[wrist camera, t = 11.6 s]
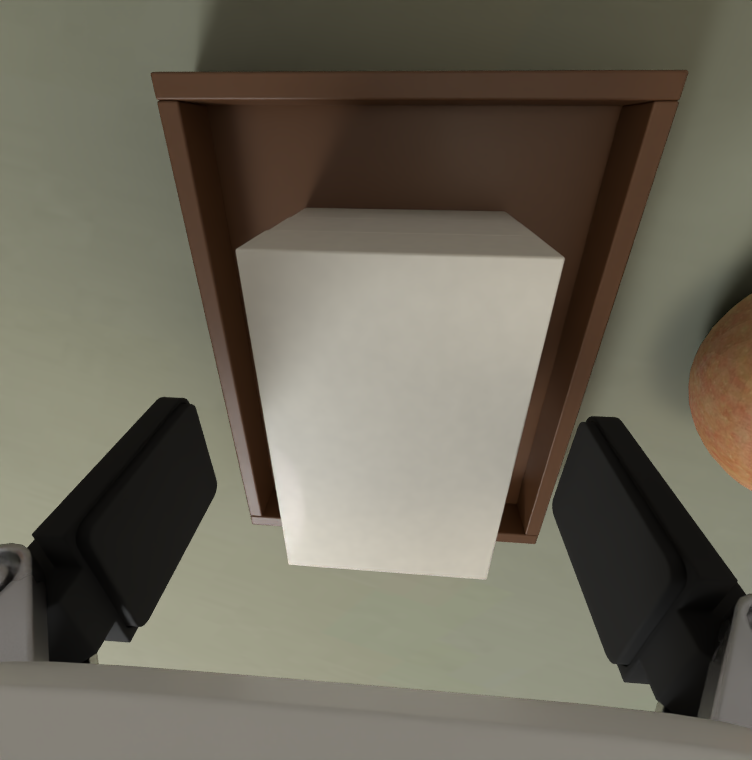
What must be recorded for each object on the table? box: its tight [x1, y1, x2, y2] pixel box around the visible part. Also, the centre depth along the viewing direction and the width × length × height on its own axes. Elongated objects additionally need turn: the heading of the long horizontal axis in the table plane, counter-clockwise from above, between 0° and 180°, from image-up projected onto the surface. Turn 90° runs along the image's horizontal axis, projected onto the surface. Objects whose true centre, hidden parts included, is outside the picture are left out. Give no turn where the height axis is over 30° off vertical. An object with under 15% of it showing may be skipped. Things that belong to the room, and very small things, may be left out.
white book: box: [236, 230, 565, 579], centre depth 12 cm, size 10×7×2 cm, turn 0°
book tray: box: [151, 70, 688, 544], centre depth 15 cm, size 17×13×2 cm
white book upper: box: [270, 217, 538, 237], centre depth 13 cm, size 10×7×2 cm, turn 0°
